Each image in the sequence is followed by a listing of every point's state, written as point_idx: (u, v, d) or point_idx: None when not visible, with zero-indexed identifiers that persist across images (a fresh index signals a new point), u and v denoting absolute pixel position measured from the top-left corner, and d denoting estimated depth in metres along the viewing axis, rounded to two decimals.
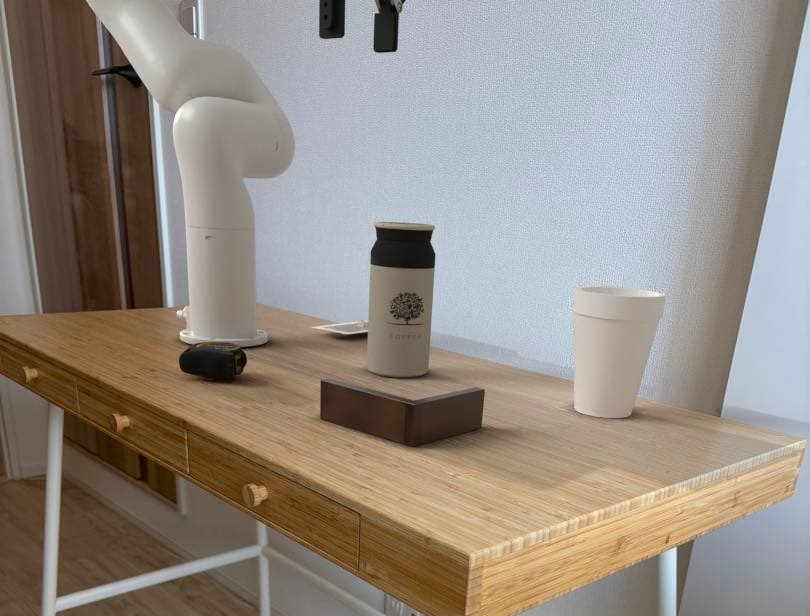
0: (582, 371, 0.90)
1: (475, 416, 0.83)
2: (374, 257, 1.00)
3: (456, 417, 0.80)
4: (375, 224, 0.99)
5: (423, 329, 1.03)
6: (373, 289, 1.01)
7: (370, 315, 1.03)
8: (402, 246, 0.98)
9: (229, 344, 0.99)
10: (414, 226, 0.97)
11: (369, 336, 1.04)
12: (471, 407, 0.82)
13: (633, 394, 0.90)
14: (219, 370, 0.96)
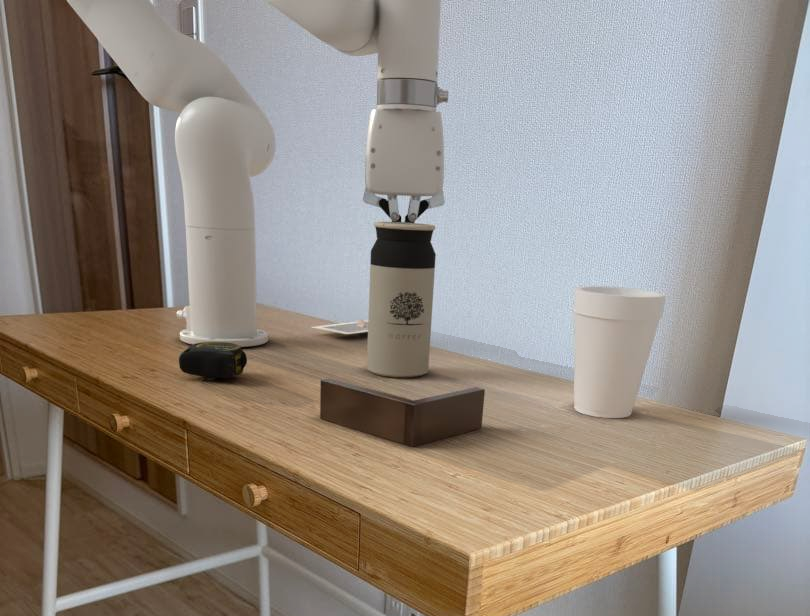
0: (582, 371, 0.90)
1: (475, 416, 0.83)
2: (374, 257, 1.00)
3: (456, 417, 0.80)
4: (375, 224, 0.99)
5: (423, 329, 1.03)
6: (373, 289, 1.01)
7: (370, 315, 1.03)
8: (403, 246, 0.98)
9: (229, 344, 0.99)
10: (414, 226, 0.97)
11: (369, 336, 1.04)
12: (471, 407, 0.82)
13: (633, 394, 0.90)
14: (219, 370, 0.96)
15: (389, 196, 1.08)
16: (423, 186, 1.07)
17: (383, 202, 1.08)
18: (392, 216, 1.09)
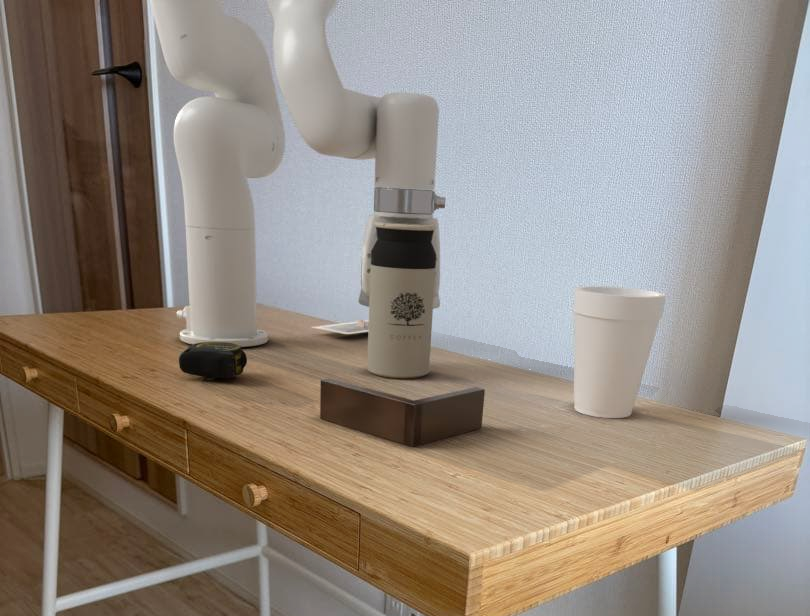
0: (582, 371, 0.90)
1: (475, 416, 0.83)
2: (375, 257, 1.00)
3: (456, 417, 0.80)
4: (376, 224, 0.99)
5: (424, 329, 1.02)
6: (373, 289, 1.01)
7: (371, 316, 1.03)
8: (403, 246, 0.98)
9: (229, 344, 0.99)
10: (415, 226, 0.97)
11: (370, 337, 1.04)
12: (471, 407, 0.82)
13: (633, 394, 0.90)
14: (219, 370, 0.96)
15: None
16: None
17: None
18: None
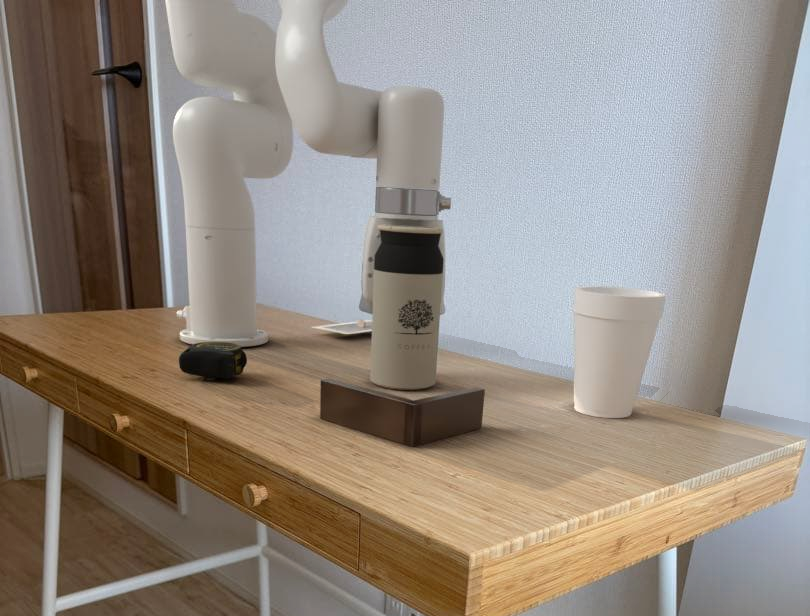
0: (582, 371, 0.90)
1: (475, 416, 0.83)
2: (380, 262, 0.93)
3: (456, 417, 0.80)
4: (380, 227, 0.93)
5: (432, 338, 0.97)
6: (379, 296, 0.95)
7: (375, 324, 0.97)
8: (412, 250, 0.92)
9: (229, 344, 0.99)
10: (424, 229, 0.91)
11: (374, 346, 0.98)
12: (471, 407, 0.82)
13: (633, 394, 0.90)
14: (219, 370, 0.96)
15: None
16: None
17: None
18: None
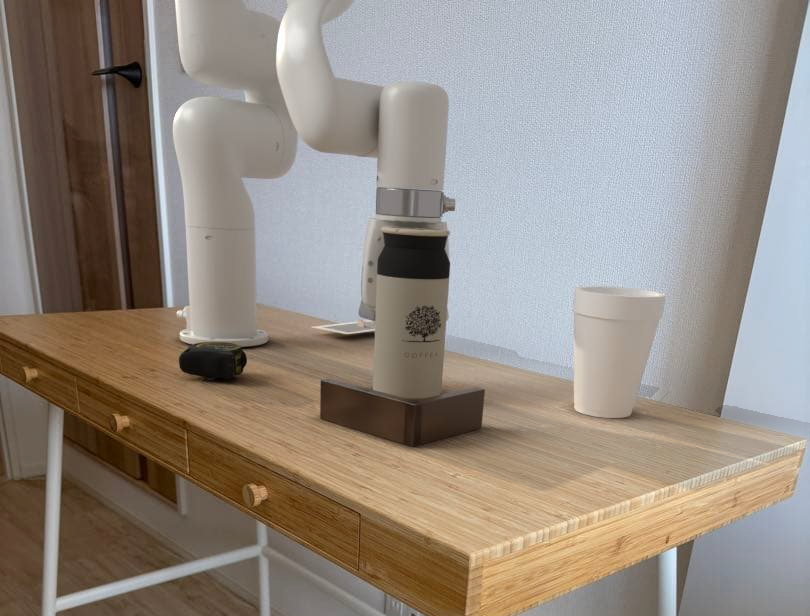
0: (582, 371, 0.90)
1: (475, 416, 0.83)
2: (385, 266, 0.89)
3: (456, 417, 0.80)
4: (385, 230, 0.88)
5: (439, 346, 0.92)
6: (384, 302, 0.90)
7: (379, 332, 0.92)
8: (420, 254, 0.87)
9: (229, 344, 0.99)
10: (432, 232, 0.87)
11: (378, 355, 0.93)
12: (471, 407, 0.82)
13: (633, 394, 0.90)
14: (219, 370, 0.96)
15: None
16: None
17: None
18: None
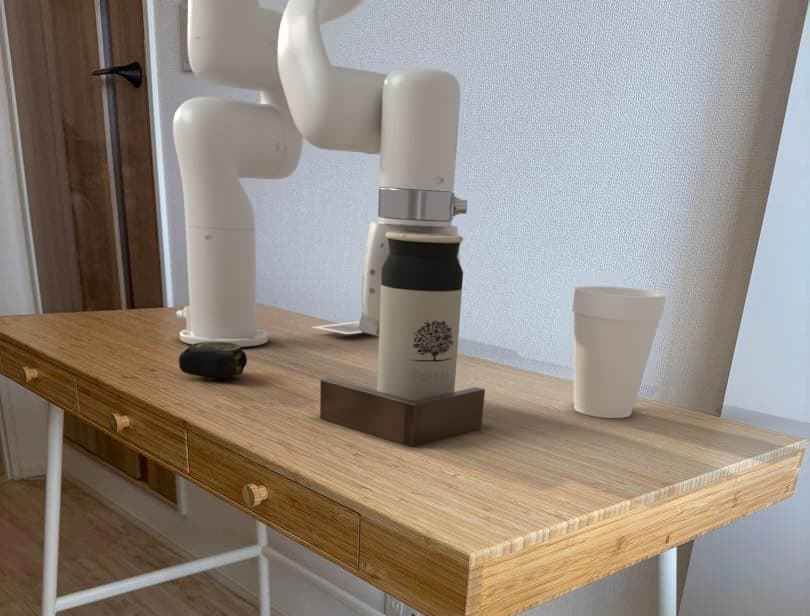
0: (582, 371, 0.90)
1: (475, 416, 0.83)
2: (391, 277, 0.79)
3: (456, 417, 0.80)
4: (391, 235, 0.78)
5: (451, 365, 0.83)
6: (389, 317, 0.80)
7: (384, 349, 0.82)
8: (429, 263, 0.78)
9: (229, 344, 0.99)
10: (444, 238, 0.77)
11: (382, 375, 0.83)
12: (471, 407, 0.82)
13: (633, 394, 0.90)
14: (219, 370, 0.96)
15: None
16: None
17: None
18: None
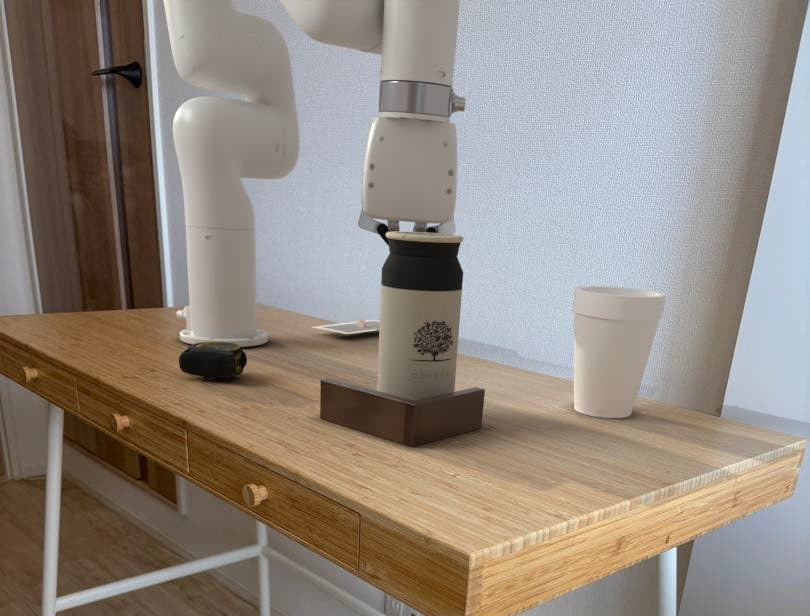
0: (582, 371, 0.90)
1: (475, 416, 0.83)
2: (391, 277, 0.79)
3: (456, 417, 0.80)
4: (391, 235, 0.78)
5: (451, 365, 0.82)
6: (389, 317, 0.80)
7: (384, 349, 0.82)
8: (429, 263, 0.77)
9: (229, 344, 0.99)
10: (444, 238, 0.77)
11: (382, 375, 0.83)
12: (471, 407, 0.82)
13: (633, 394, 0.90)
14: (219, 370, 0.96)
15: (389, 221, 0.90)
16: (430, 211, 0.89)
17: (382, 228, 0.90)
18: None
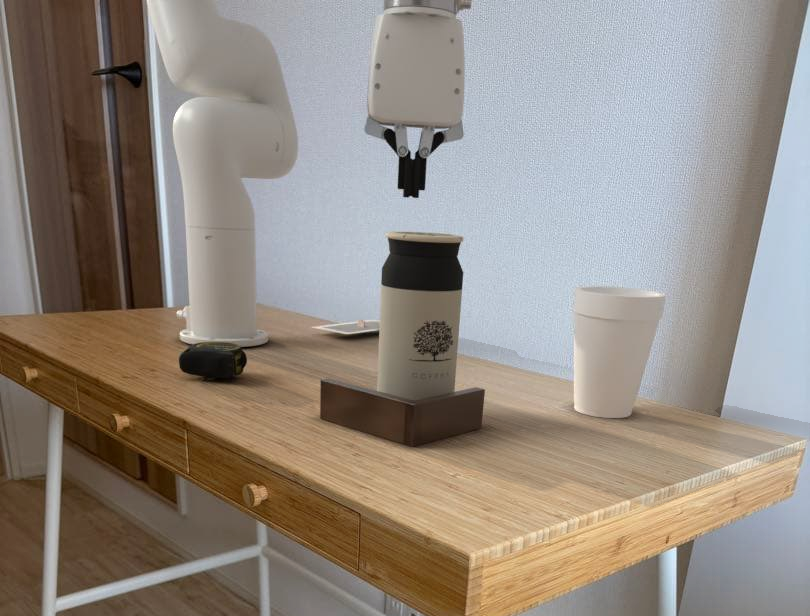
0: (582, 371, 0.90)
1: (475, 416, 0.83)
2: (391, 277, 0.79)
3: (456, 417, 0.80)
4: (391, 235, 0.78)
5: (451, 365, 0.82)
6: (389, 317, 0.80)
7: (384, 349, 0.82)
8: (430, 263, 0.77)
9: (229, 344, 0.99)
10: (444, 238, 0.77)
11: (382, 375, 0.83)
12: (471, 407, 0.82)
13: (633, 394, 0.90)
14: (219, 370, 0.96)
15: (396, 125, 0.88)
16: (438, 113, 0.87)
17: (389, 133, 0.89)
18: (400, 151, 0.89)
